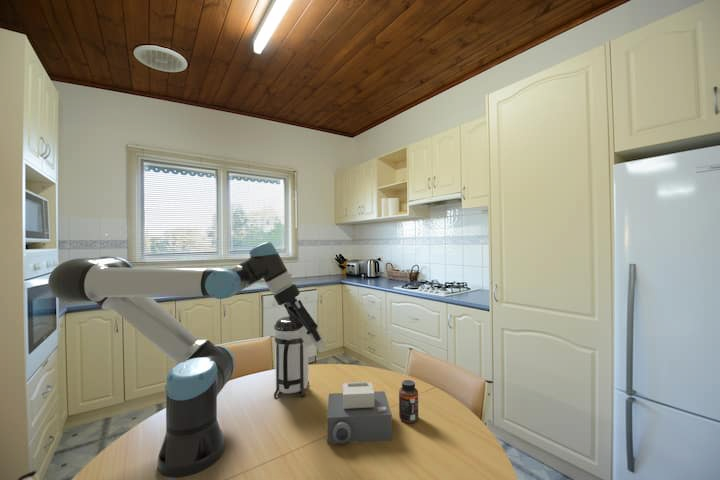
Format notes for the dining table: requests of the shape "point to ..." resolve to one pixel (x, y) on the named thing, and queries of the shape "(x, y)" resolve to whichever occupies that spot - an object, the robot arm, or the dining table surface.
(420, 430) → the dining table surface
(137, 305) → the robot arm
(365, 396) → the hatch door
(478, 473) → the dining table surface
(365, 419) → the gray box
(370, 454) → the dining table surface
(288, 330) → the coffee press
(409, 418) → the supplement bottle
